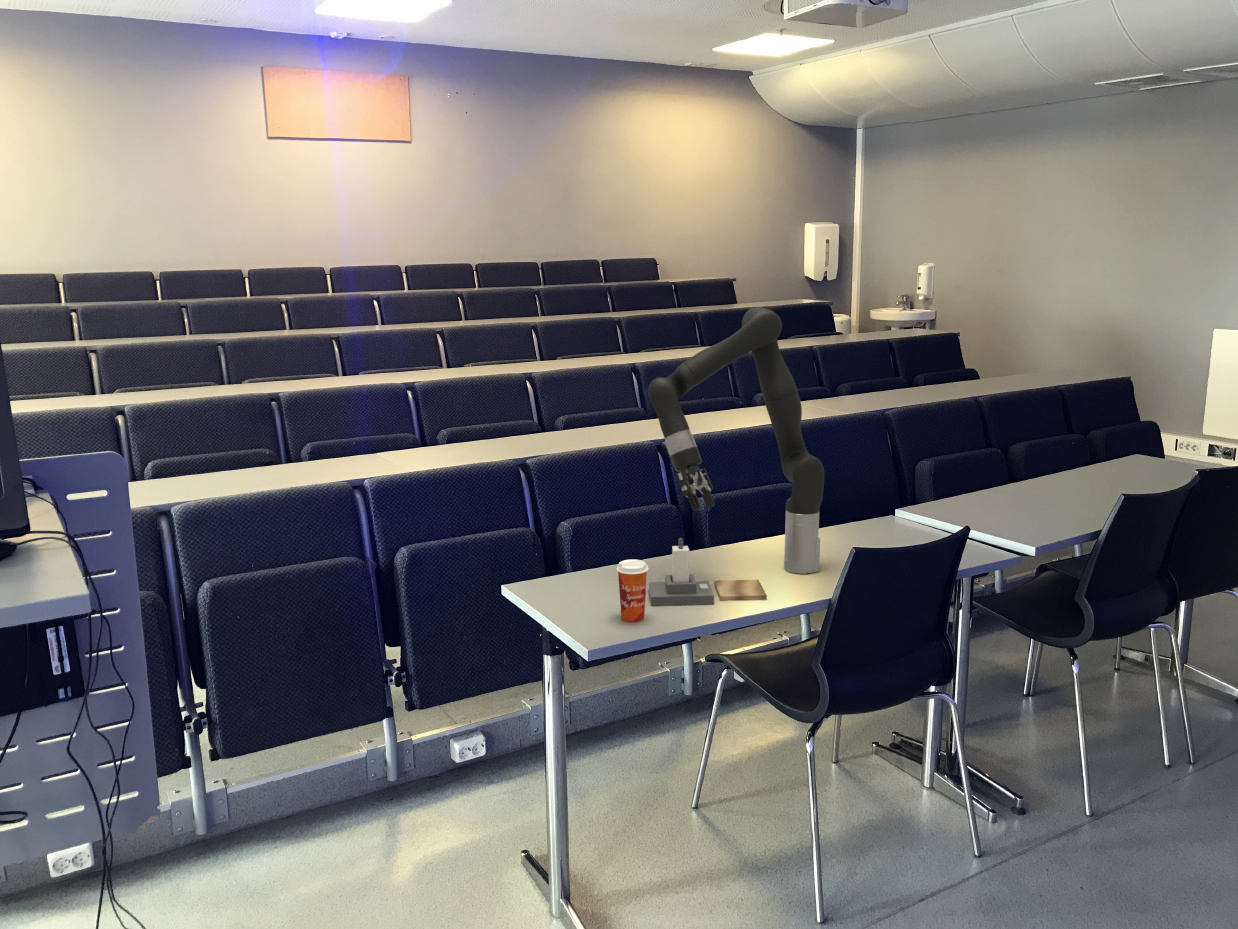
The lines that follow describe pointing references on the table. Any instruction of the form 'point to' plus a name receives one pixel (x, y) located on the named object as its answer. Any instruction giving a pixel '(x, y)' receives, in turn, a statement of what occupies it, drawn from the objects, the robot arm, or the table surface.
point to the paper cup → (632, 589)
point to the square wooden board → (739, 590)
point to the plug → (680, 563)
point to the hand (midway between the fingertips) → (704, 508)
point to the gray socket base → (680, 592)
